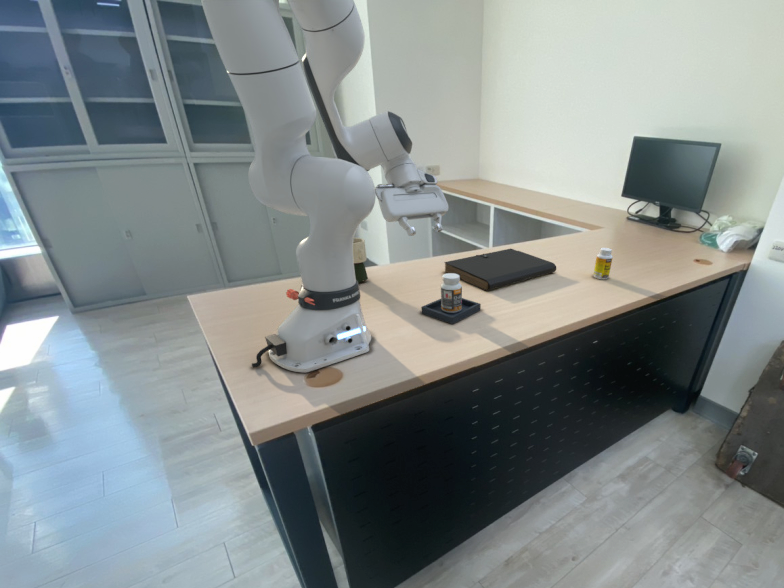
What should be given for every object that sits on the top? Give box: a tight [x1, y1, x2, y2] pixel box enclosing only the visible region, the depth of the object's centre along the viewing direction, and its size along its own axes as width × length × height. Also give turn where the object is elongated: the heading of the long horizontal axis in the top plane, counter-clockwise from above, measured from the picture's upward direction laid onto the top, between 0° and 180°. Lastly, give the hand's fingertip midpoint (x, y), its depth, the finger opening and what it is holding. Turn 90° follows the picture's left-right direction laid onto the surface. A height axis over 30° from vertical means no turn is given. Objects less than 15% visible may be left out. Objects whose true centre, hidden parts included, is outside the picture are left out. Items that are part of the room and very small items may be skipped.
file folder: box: [443, 248, 557, 292], centre depth 145 cm, size 33×4×24 cm
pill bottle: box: [440, 273, 463, 313], centre depth 111 cm, size 6×6×10 cm
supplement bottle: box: [592, 247, 613, 280], centre depth 145 cm, size 6×6×10 cm
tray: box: [420, 297, 482, 325], centre depth 114 cm, size 13×11×2 cm
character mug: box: [353, 237, 369, 283], centre depth 128 cm, size 11×7×13 cm, turn 46°
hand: (426, 233), depth 109 cm, fingers open, 8 cm apart
